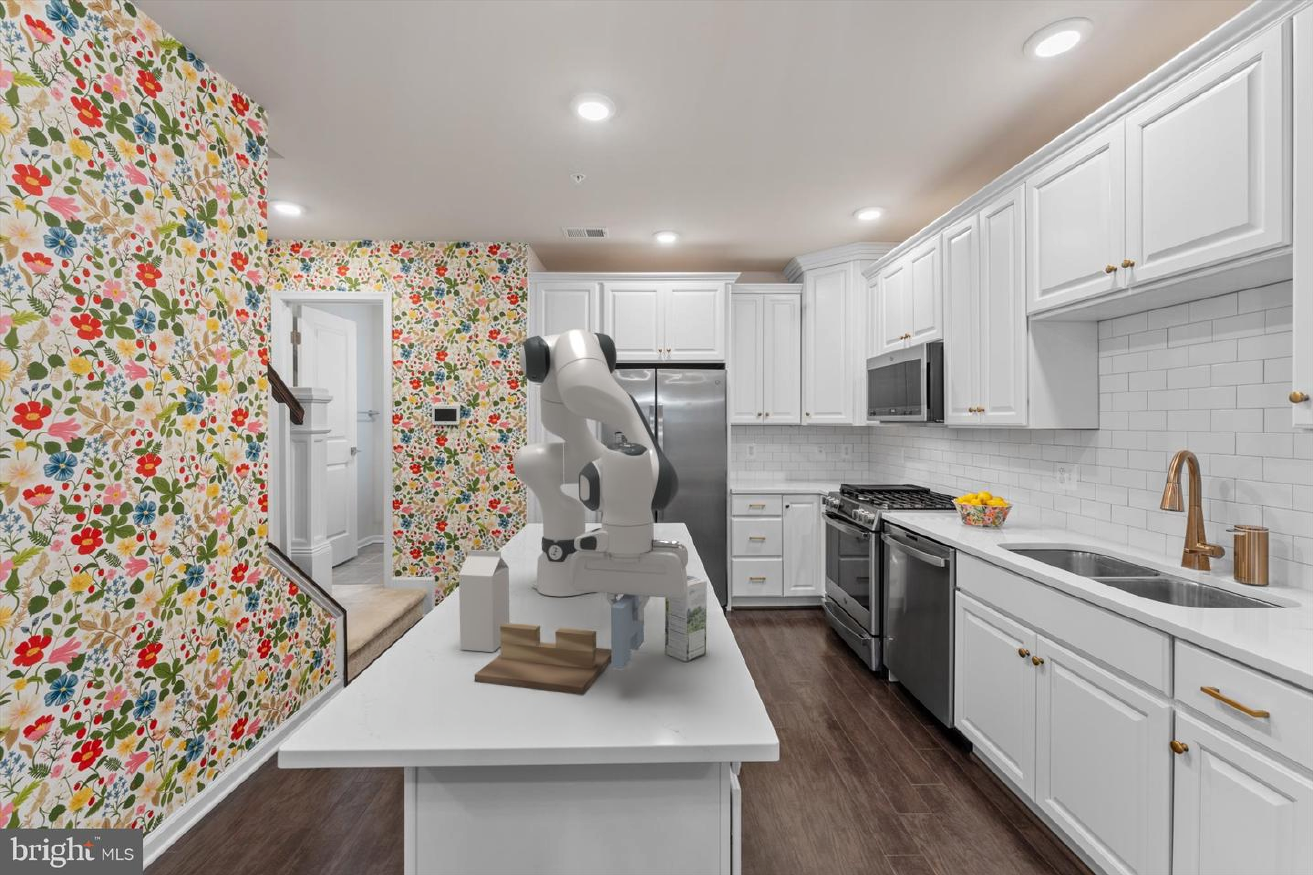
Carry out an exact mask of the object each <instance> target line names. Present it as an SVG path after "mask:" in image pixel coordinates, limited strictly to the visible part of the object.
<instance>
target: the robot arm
mask: <svg viewBox="0 0 1313 875" xmlns="http://www.w3.org/2000/svg"><path fill="white" fill-rule="evenodd" d="M617 353H618V352H617V348H616V345H615V342H614V340H613V339H612V338H611V336H610V335H608V334H605V333H601V332H594V333H591V332H589V331H587V330H585V329H582V328H581V329H580V328H574V329H569V330H567V331H565V332H563V333H557V334H549V335H545V336H540V335H535V336H531V337H528V338H526V339H525V340H524V341H523V342H522V344H521V348H520V351H519V356H518V357H519V360H518V361H519V366H520V369H521V371H522V373H523V375H524V378H526V380H528V381H529V382H532V383H538V384H540V388H539V389H540V396H539V397H540V421H541V423H542V424H541V425H542V426H543V427H544V428H545V430H547V431H548V432H549V433H551V434H552V435H555V436H556V437H559V438H560V439H562V440H563V441H564V442H536V443H531V444H526V445H523V446H521V447H519V449H518V450H517V451H516V453H515V455H514V458H513V461H512V464H513V467H512V468H513V471H514V474H515V476H516V478H518V480H519V481H520V482H521V483H523V484H525V485H526V486H527V487H528V488H529V489H530V490H531V491H532V492H533V493H534V495H535V497H536V498H537V500H538V502H539V506H540V509H541V516H542V529H543V530H542V534H543V536H542V537H541V543H540V545H541V551H542V553H541V554H540V555H539V556H538V558H537V567H536V580H535V581H534V582H532V586H531V587H532V588H533V589H535V590H537V592H538V593H540V594H541V595H544V596H550V597H571V596H578V595H584V594H587V593H589V594H590V593H603V594H604V593H605V594H606V601H607V603H608V604H609V605H610V608H611V607H612V606H613V605H614V604H615V603H616V602H617V601H618V599H617V597H619V595H624V594H626V595H639V602H642V603H641V605H640V606H639V608H635V609H634V610H633V611H632V615H633V620H634V621H642V620H643V617H644V618H645V613H644V612H645V607H646V606H647V604H648V602H649V601H650V598H651V597H653V598H655V597H656V598H681V597H682V596H683V595H684V594H685V592H686V591H687V587H688V584H687V575H688V574H687V573H688V572H687V569H686V568H687V567H686V566H687V565H688V562H689V553H688V549H687V547H686V546H685V545H684V544H682V543H680V541H676V540H670V541H669V540H663V539H661V540H660V539H655V538H654V537H655V533H654V528H655V527H654V526H655V525H654V522H655V521H654V520H655V519H654V516H653V511H659V512H660V511H664V510H665V509H666V508H667V507H668V506H669V505H670V504H671V503H672V502H673V501H674V500H675V498H676V496H677V494H678V492H679V477H678V474H677V471H676V469H675V467H674V466H673V464H672V463H671V461H670V460H669V459H668V457H666V455H665V453H664V452H663V450H662V447H660V444H659V442H658V440H657V438H656V437H655V434H654V433H653V430H652V429H651V426H650V425H649V423H648V420H647V418H646V417H645V415H644V413H643V411H642V409H641V407H640V405H639V403H638V401H637V400H636V399H635V397H634V396H633V395H632V394H630V393H629V392H627V391H626V390H625V389H623V388H622V386H621V385H620V384H618V382H617V381H616V380H615V378H614V377H613V375H612V374H613V373H614V371H615V370H616V365H617V360H618V354H617ZM587 419H588V420H591V421H596V422H599V423H601V424H605V425H608V426H610V427H612V428H614V429H616V430H618V431H620V433H621V434H622V435H623V436H624V437H625V439H626V441H619V442H613V443H609V444H607V445H605V444H604V443H602V442H600V441H599V440H598V438H596V437H595V436H594V435H593V434H592V432H591V430H590V428H589V425H588V423H587ZM571 484H572V485H574V484H575V485H577V484H578V494H579V495H578V496H579V500H578V499H576V498H574V497H572V496H570V495H568V494H566V493H564V492H563V490H562V488H561V486H562V485H571ZM585 507H586V509H588V510H590V511H591V512H597V513H602V518H601V527H599V528H595V529H592V530H588V531H586V509H585Z"/></svg>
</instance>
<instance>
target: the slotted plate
mask: <svg viewBox="0 0 1313 875" xmlns="http://www.w3.org/2000/svg"><path fill="white" fill-rule="evenodd" d="M641 603H642V602H639V595H626V594H622V596H621V597H620V598H619V599H617V602H616V603H615V604H614V605H613V606H612V607H611V606H610V631H611V632H610V638H611V640H610V643H611V644H610V645H611V647H610V649H611V661H610V663H611V669H613V670H621V671H623V670H624V669H625V668H626V667H627V666H628V664H629V663H630V661H631V660H632V659H631V658H632V657H631V656H632V655H631V651H639V649H640V648H641V647H642V645H643V644H644V643H645V616H644V617H643V620H642V621H634V620H633V615H632V611H633V610H634V609H635V608H639V606H640V605H641Z"/></svg>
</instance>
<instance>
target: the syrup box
mask: <svg viewBox="0 0 1313 875" xmlns="http://www.w3.org/2000/svg"><path fill="white" fill-rule="evenodd" d="M687 584H688V587H687V591H686V592H685V594H684V595H683V596H682V597H681V598H665V597H664V598H665V599H664V602H665V605H664V606H665V607H664V608H665V609H664V611H665V613H664V615H665V616H664V619H665V620H664V624H665V625H664V626H665V627H664V630H665V633H664V638H665V639H664V641H665V644H664V653H665V655H668V656H670V657H672V658H675V659H678V660H681V661H683V662H686V663H688V662H689V661H692V660H695V659H697V658H699V657H701V656H704V655H705V654H706V653H707V610H708V609H707V607H708V606H707V604H708V603H707V598H708V597H707V596H708V595H707V592H708V590H707V588H708V587H707V586H708V581H707V580H705V579H703V578H700V577H698V576H694V575H691V574H690V575H689V574H687Z"/></svg>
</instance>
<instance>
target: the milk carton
mask: <svg viewBox="0 0 1313 875" xmlns="http://www.w3.org/2000/svg"><path fill="white" fill-rule="evenodd" d="M501 555H502V552H501V550H499V551H497V550H478V549H477V550H475V549H468V550H467V556H466V559H465V561H464V562H463V564H462V566H461V569H460V571H459V573H458V586H459V587H458V588H459V591H458V594H459V596H458V597H459V598H458V599H459V601H458V602H459V642H460V643H459V644H460V646H459V647H460V648H459V650H461V651H471V652H472V651H473V652H474V651H476V652H487V653H488V652H489V653H494V652H495V651H497V650H498V649H499V648H501V646H500V626H502V625H503V624H505V623H511V622H510V578H509V577H510V572H509V570H510V568H509V566H508V564H507V563H506V561H505V560H504V559H503V557H502V556H501Z"/></svg>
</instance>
